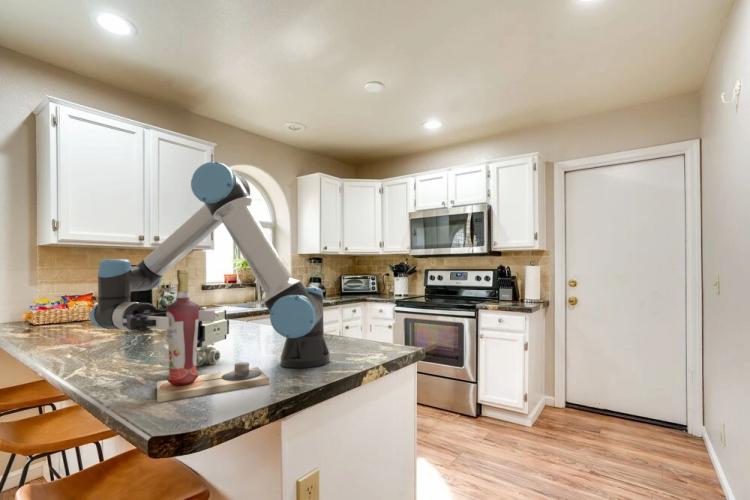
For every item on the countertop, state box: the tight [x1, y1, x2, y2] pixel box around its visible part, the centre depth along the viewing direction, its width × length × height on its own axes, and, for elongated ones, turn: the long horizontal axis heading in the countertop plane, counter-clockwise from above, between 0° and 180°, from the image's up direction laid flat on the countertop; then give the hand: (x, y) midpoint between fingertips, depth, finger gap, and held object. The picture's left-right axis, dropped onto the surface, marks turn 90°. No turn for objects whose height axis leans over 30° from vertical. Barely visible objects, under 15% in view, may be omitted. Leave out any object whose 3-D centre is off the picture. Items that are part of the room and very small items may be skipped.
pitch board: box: [156, 361, 270, 403], centre depth 99 cm, size 25×13×4 cm, turn 119°
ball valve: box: [196, 306, 230, 367], centre depth 123 cm, size 18×8×18 cm, turn 168°
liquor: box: [165, 269, 200, 386], centre depth 96 cm, size 7×7×28 cm
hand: (192, 319), depth 95 cm, fingers open, 13 cm apart
